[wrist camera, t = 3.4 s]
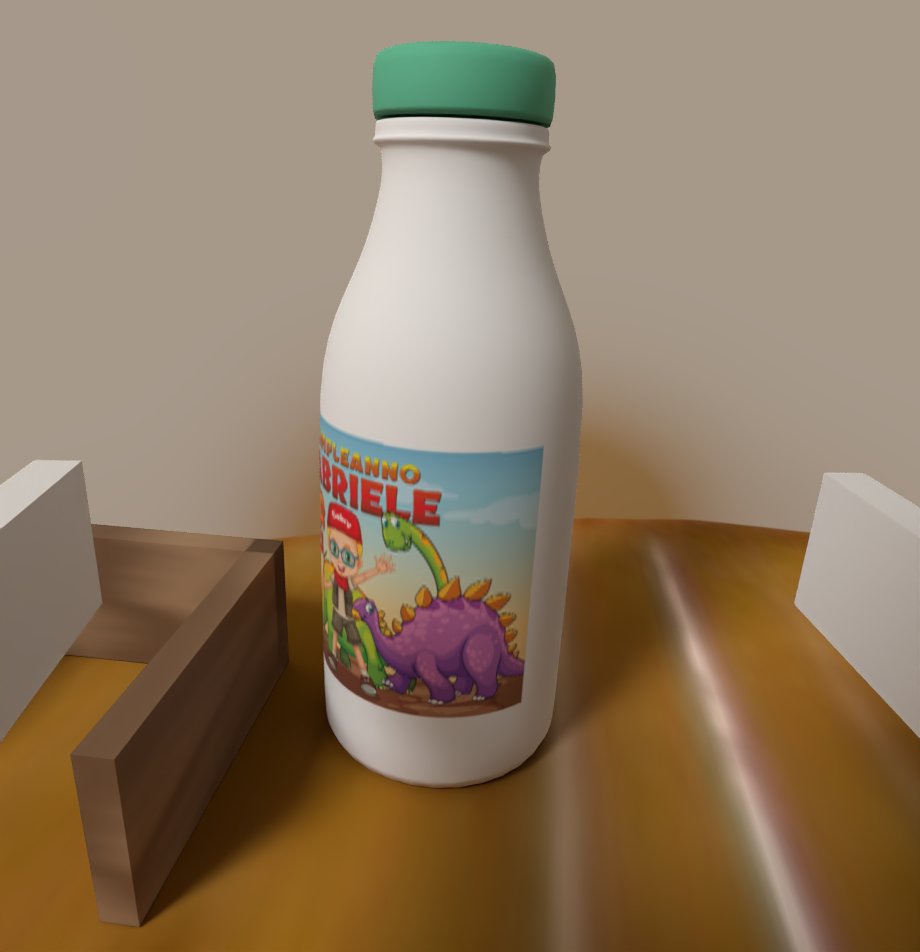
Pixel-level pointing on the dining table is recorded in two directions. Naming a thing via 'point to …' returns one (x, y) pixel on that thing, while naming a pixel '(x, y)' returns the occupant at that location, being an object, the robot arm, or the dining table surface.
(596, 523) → the dining table surface
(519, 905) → the dining table surface
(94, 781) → the walnut U-rest
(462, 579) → the milk bottle
